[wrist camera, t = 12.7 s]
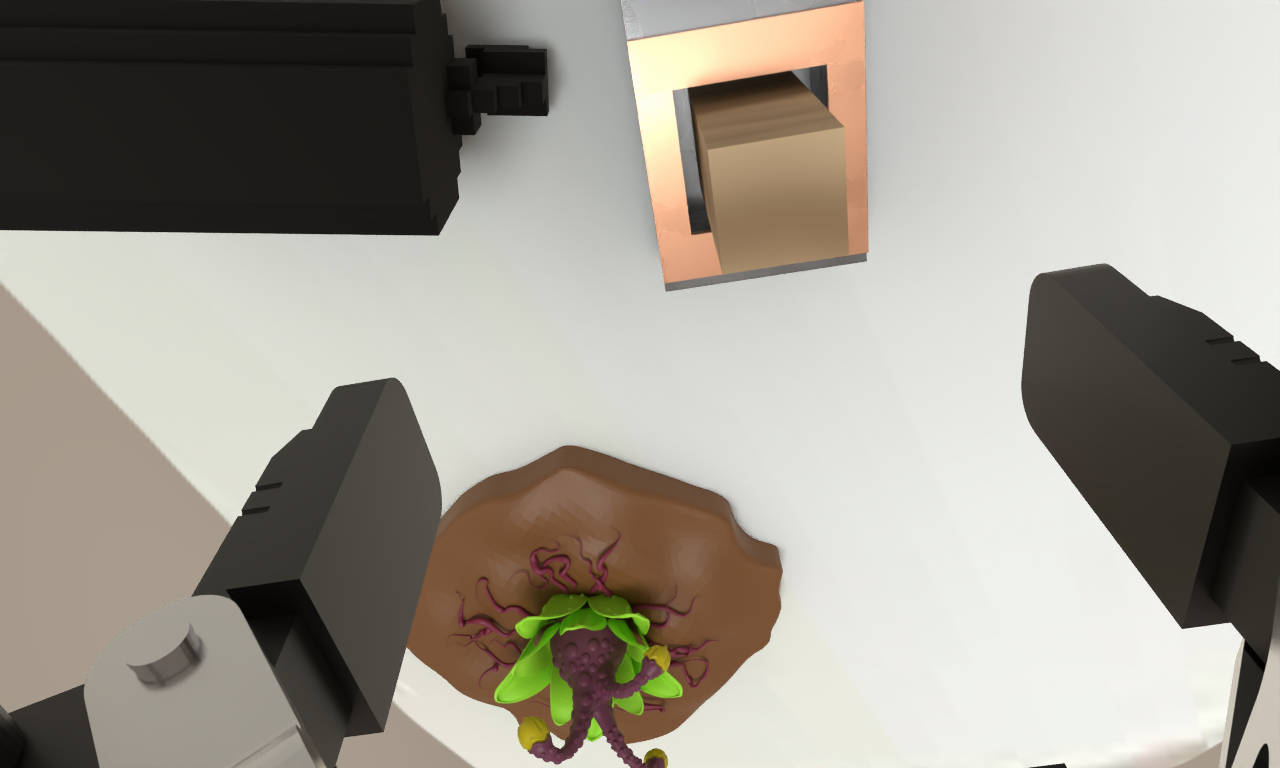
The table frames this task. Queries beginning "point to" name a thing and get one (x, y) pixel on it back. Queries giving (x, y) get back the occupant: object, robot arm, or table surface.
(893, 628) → the table surface
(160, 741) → the robot arm
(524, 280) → the table surface
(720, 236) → the brown upright block
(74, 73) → the security camera
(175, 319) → the table surface
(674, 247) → the rail
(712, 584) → the plant
